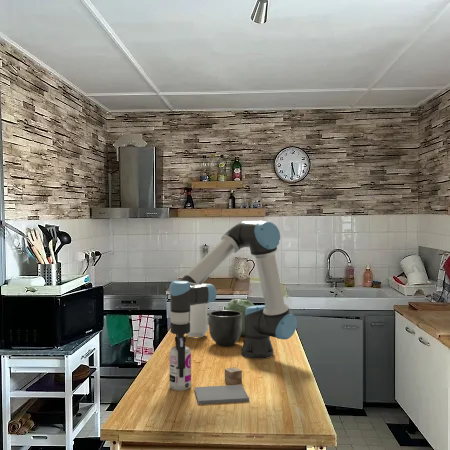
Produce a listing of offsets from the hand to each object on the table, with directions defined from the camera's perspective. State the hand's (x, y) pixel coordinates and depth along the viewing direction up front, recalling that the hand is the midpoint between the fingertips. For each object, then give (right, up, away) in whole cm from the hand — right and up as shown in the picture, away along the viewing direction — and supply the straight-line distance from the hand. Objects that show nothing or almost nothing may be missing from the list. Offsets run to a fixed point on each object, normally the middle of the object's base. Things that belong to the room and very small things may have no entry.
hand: (180, 381), depth 191 cm
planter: (+17, -1, +63) cm, 65 cm away
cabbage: (+26, -1, +83) cm, 87 cm away
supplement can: (0, -2, 0) cm, 2 cm away
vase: (+1, -1, +80) cm, 80 cm away
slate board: (+16, -2, -9) cm, 18 cm away
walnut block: (+20, -2, +6) cm, 21 cm away
